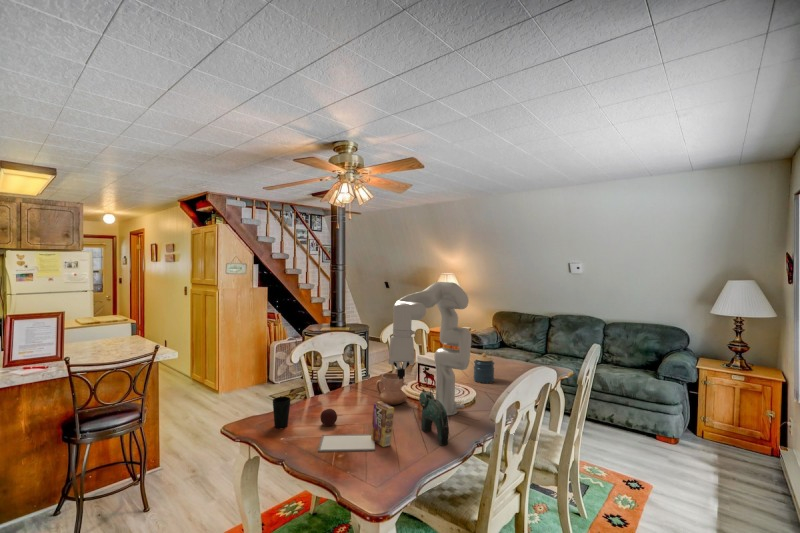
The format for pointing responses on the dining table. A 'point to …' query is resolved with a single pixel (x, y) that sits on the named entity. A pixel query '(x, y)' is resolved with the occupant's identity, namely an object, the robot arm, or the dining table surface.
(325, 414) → the dark maroon ball
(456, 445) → the dining table surface
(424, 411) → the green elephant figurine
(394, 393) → the ceramic jug
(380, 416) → the candy box
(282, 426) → the cup
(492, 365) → the canister
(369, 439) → the mat
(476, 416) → the dining table surface
